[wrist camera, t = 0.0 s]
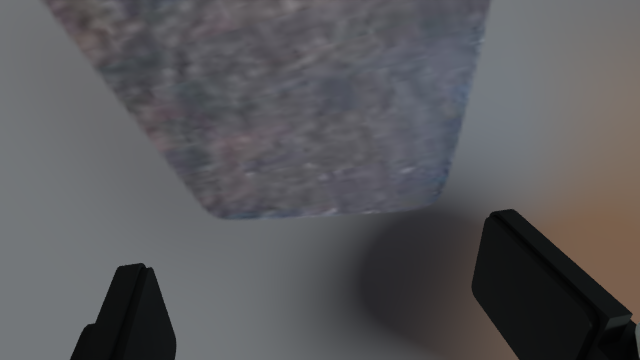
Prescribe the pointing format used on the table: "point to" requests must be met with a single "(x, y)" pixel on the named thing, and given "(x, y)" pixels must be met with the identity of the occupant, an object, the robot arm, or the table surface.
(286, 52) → the table surface
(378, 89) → the table surface
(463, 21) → the table surface
